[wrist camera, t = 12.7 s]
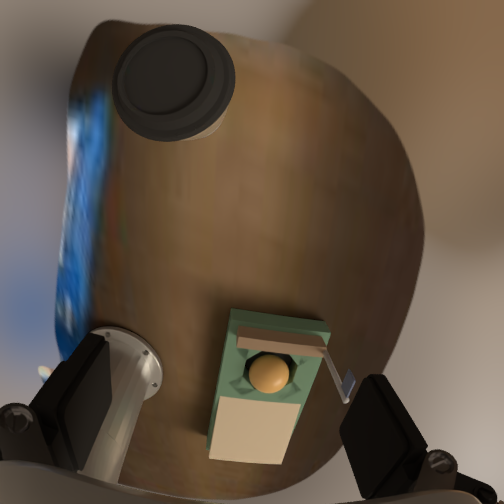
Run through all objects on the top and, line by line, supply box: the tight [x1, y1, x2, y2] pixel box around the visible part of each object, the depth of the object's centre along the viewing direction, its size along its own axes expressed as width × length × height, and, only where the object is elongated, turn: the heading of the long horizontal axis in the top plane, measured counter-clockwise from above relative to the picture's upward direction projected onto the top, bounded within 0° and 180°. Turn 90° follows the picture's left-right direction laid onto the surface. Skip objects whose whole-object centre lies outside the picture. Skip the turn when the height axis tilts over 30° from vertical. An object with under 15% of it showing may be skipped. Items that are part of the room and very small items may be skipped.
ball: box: [249, 355, 289, 393], centre depth 38 cm, size 5×5×5 cm
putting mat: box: [206, 308, 356, 464], centre depth 35 cm, size 25×12×14 cm, turn 169°
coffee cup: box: [112, 24, 235, 142], centre depth 24 cm, size 9×9×15 cm
